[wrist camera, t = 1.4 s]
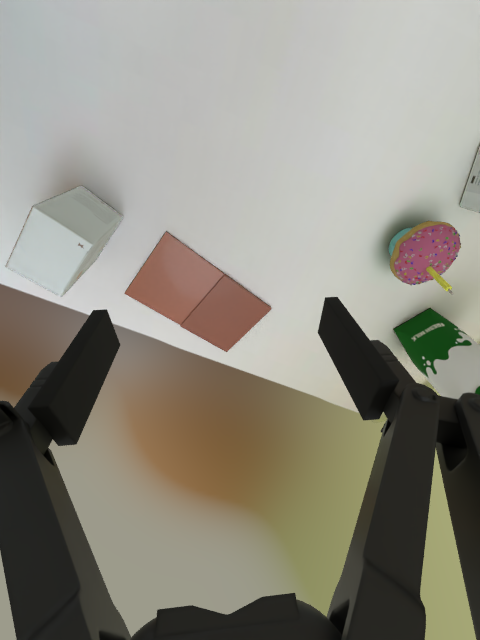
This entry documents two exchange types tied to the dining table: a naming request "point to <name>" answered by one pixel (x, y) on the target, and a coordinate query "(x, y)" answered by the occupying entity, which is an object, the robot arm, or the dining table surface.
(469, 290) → the dining table surface
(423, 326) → the milk carton
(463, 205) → the container
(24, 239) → the small box
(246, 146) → the dining table surface
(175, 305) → the napkin
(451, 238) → the cupcake
